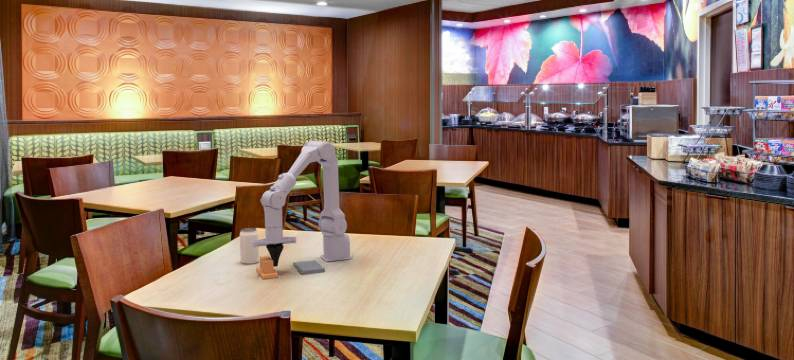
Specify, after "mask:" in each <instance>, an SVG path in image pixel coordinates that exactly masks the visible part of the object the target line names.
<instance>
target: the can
mask: <svg viewBox="0 0 794 360" xmlns="http://www.w3.org/2000/svg"><path fill="white" fill-rule="evenodd" d="M257 230H258V228H255V227H248V228H247V227H245V228H242V229H240V232H239V250H240V251H239V252H240V263H241V264H243V265H252V264H257V263H259V262H260V251H259V247H260V246H259V247H253V246H252V241H254V240H259V233H258V231H257Z"/></svg>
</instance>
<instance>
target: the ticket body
mask: <svg viewBox="0 0 794 360" xmlns="http://www.w3.org/2000/svg"><path fill="white" fill-rule="evenodd" d="M292 266H293V267H294V268H295V269H296V270H297V272H298V273H300V274H301V275H310V274H318V273H326V272H325V271H326V270H325V267H324V266H322V265H321V264H320V263H319V262H318V261H317V260H316V259H314V260H313V259H312V260H305V261H296V262H292Z"/></svg>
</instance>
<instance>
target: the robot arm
mask: <svg viewBox="0 0 794 360" xmlns="http://www.w3.org/2000/svg"><path fill="white" fill-rule="evenodd" d="M314 162H317V163H318V164H320V165H321V166H322V181H323V182H322V183H323V185H322V186H323V209H322V211H321V212H320V214H319V220H318V229H319V231H320V232H321V234H322V242H323V244H322V248H323V255H320V258H321V259H322V260H323V261H325V262H333V261H343V260H344V261H345V260H350V259H352V257H351V241H350V236H349V233H346V231H347V229H348V223H347V221H346V215H345V213H344V212H343V211H342V209H341V208H340V192H339V191H340V187H339V186H340V185H339V160H338V157H337V154H336V146H334V144H332V143H331V142H330V141H326V140H324V141H322V140H320V141H319V140H308V141H307V142H305V144H304V145H303V147H302V148H301V151H300V154H299V155H298V157H296V160H295V161H294V163H293V164H292V165H291V167H290V169H289V170H288V171H287V172H283V173H281V174H279V175H278V177H277V178H278V179H277V180H276V181H275V182H274V184H273V185H271V186H270V187H269V190H266V191H265V192H264V193H263V194H262V196H261V198H260V199H259V200H260V203H261V206H262V207H263V211H264V227H265V228H264V231H265V238H261V239H258V240H254V241H252V246H253V247H265V248H266V249H267V251H268V254H269V257H270V258H271V259H272V260H273V268H275V267H278V266H279V260H280V257H281V255H282V252H283V250H284V247H285V246H284V245H287V244H297V236H284V228H283V227H284V225H283V207H284V206H285V204H286V202H287V201H286V200H287V196H288V195H289V194H290V192H291V191H292V189H293V188H294V187H296V185H297V177H299V176H300V175H301V174H302V172H303V171H304V170H305V169H306V168H307V167H308V166H309V164H311V163H314Z"/></svg>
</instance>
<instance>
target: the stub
mask: <svg viewBox="0 0 794 360" xmlns="http://www.w3.org/2000/svg"><path fill="white" fill-rule="evenodd" d="M255 271H256V272H257V273H258V274H259V276H260V277H261V278H262V280H265V279H266V280H267V279H275V278H279V273H277V271H276V270H275V269H274V266H273V260H272V259H271V256H270V255H261V256H260V255H259V266H255Z"/></svg>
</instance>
